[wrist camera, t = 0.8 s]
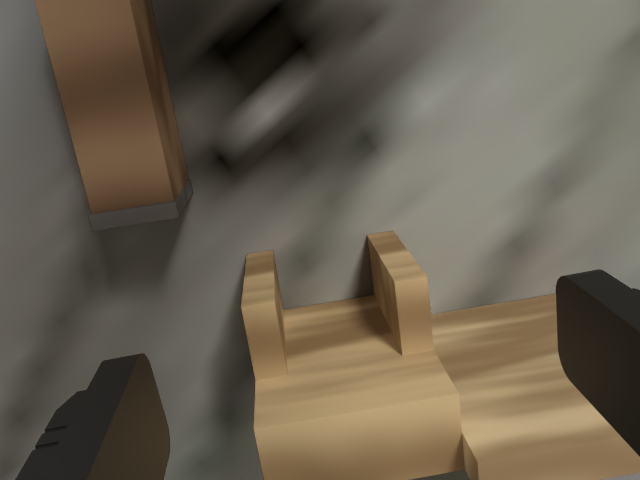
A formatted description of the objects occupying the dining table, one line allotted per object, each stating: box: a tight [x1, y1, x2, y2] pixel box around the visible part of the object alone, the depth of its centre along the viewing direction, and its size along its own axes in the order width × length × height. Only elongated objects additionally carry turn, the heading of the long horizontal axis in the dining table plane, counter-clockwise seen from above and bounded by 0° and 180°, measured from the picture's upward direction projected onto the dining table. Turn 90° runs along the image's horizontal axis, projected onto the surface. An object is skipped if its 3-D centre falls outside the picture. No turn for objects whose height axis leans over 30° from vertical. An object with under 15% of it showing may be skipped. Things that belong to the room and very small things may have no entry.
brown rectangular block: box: [35, 0, 193, 231], centre depth 29 cm, size 13×4×6 cm, turn 8°
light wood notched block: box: [241, 231, 640, 480], centre depth 30 cm, size 8×21×14 cm, turn 98°
